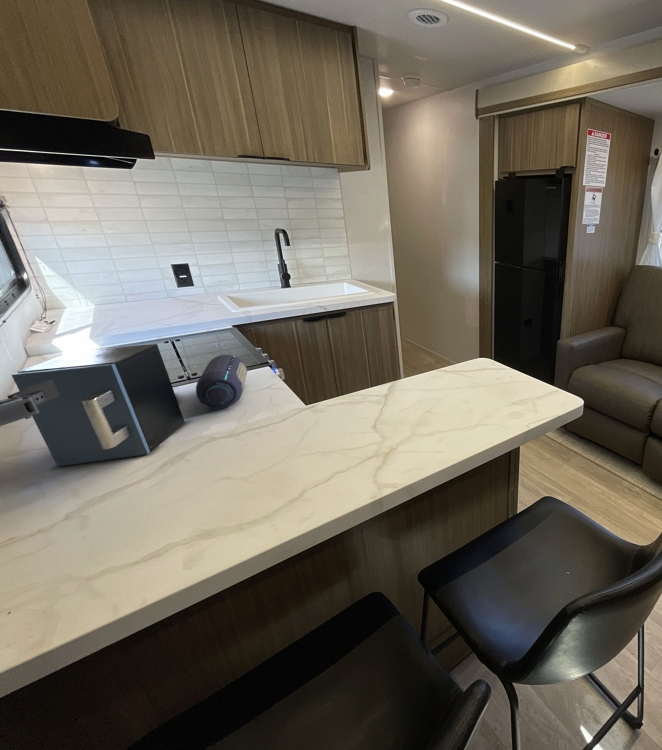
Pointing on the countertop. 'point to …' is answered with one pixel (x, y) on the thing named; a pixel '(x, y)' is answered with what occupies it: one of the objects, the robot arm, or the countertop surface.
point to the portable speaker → (222, 382)
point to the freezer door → (86, 415)
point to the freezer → (134, 385)
